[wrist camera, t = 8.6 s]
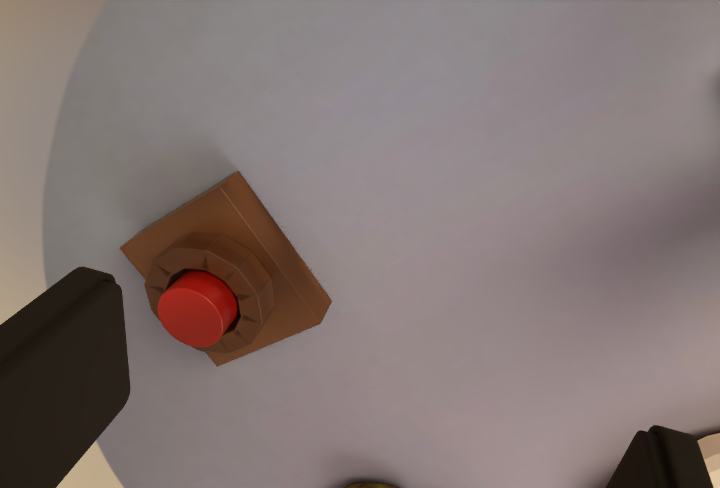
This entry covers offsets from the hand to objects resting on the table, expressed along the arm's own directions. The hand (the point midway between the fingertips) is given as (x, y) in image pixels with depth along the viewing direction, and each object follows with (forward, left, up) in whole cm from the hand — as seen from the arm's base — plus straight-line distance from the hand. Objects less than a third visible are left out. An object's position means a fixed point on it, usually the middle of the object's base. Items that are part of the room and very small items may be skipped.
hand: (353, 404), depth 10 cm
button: (+1, -15, -15) cm, 21 cm away
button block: (+1, -15, -19) cm, 24 cm away
